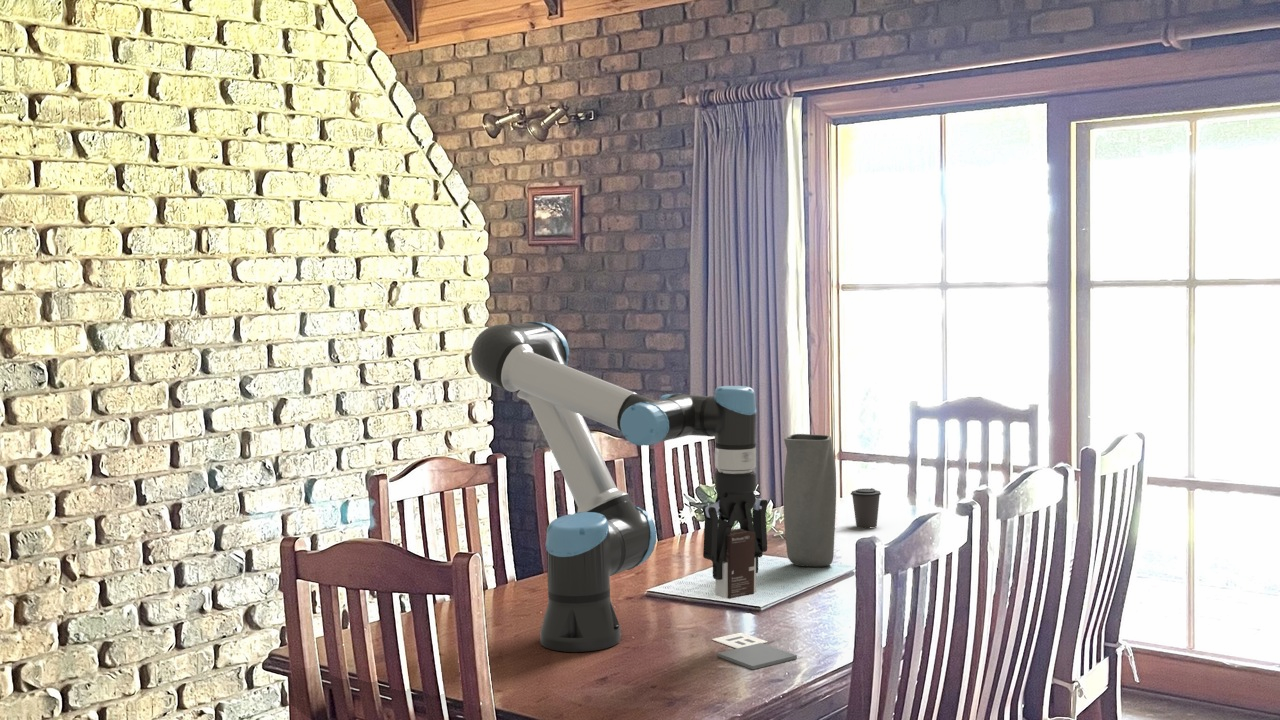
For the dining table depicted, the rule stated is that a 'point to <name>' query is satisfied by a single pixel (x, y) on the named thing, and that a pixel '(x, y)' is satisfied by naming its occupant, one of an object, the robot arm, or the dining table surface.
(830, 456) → the vase
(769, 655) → the coaster
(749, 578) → the box
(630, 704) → the dining table surface
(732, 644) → the tile
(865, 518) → the coffee cup
